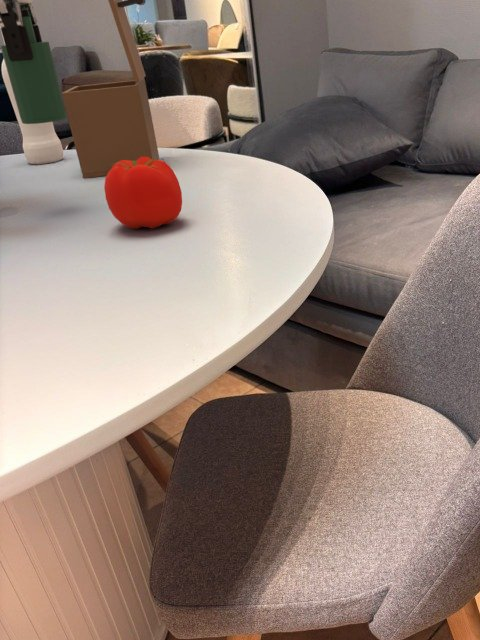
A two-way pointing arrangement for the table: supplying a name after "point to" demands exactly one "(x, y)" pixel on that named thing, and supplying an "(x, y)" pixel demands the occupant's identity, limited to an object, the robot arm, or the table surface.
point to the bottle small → (35, 83)
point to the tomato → (143, 193)
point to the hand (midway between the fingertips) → (28, 57)
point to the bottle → (35, 133)
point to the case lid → (128, 36)
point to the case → (110, 125)
